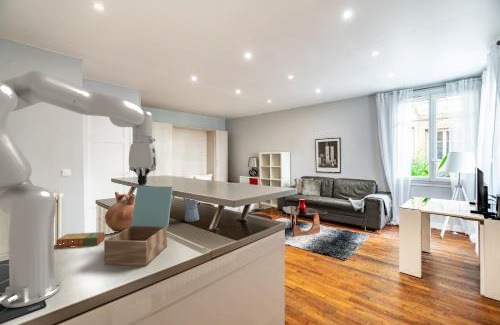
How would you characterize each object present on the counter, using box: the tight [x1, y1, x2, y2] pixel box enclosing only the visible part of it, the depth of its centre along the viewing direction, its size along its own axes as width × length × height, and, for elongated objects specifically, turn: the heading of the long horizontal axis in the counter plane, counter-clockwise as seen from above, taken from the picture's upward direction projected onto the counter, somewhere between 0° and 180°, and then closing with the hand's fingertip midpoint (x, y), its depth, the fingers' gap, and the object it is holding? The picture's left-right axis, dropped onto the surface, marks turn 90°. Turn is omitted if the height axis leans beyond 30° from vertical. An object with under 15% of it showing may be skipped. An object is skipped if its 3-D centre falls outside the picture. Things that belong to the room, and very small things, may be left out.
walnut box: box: [103, 226, 168, 267], centre depth 94 cm, size 18×16×9 cm
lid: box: [131, 185, 174, 228], centre depth 107 cm, size 18×17×2 cm
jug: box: [104, 191, 136, 233], centre depth 128 cm, size 18×18×20 cm
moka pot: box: [182, 197, 201, 223], centre depth 146 cm, size 10×15×20 cm, turn 145°
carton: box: [56, 231, 106, 249], centre depth 106 cm, size 8×16×4 cm, turn 102°
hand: (142, 184), depth 97 cm, fingers closed
